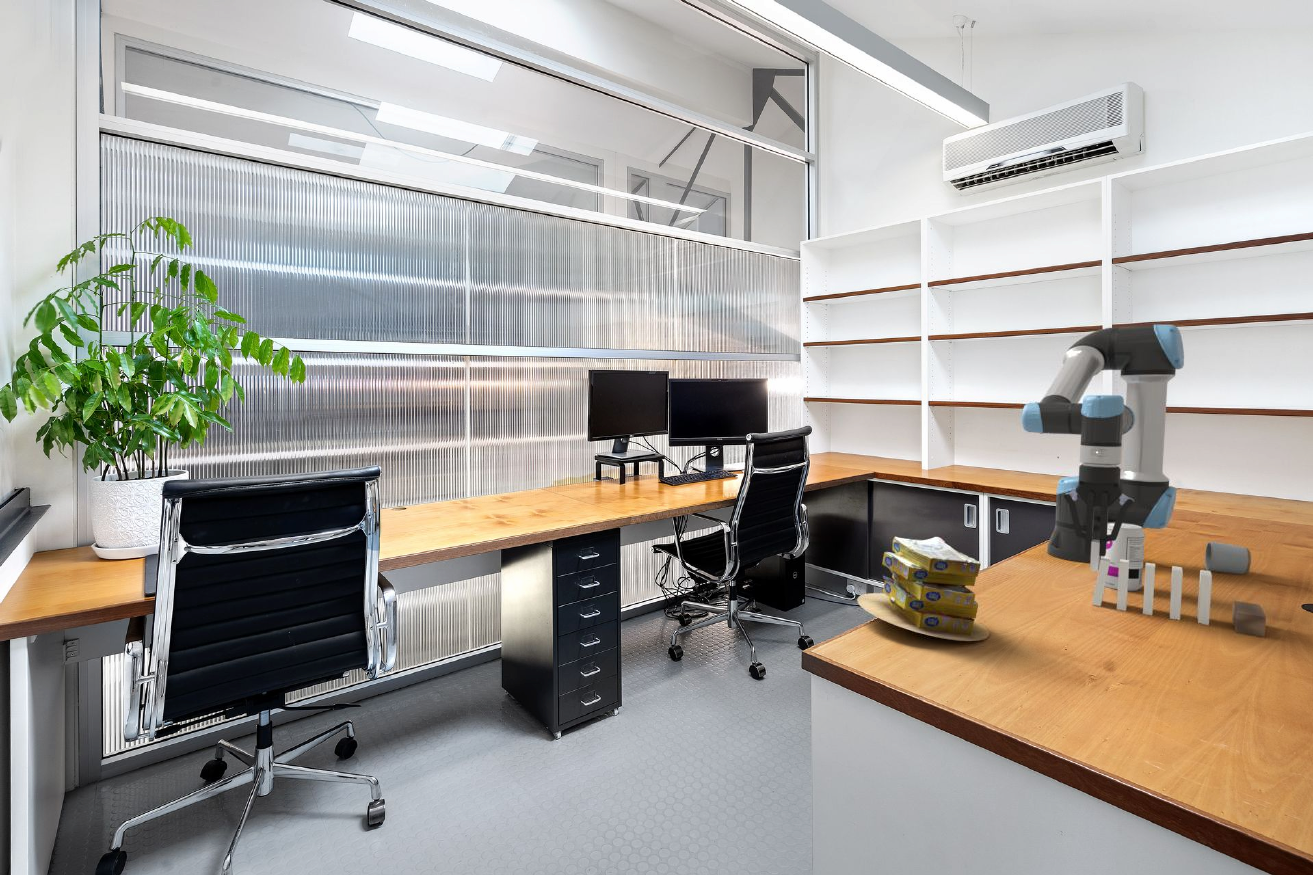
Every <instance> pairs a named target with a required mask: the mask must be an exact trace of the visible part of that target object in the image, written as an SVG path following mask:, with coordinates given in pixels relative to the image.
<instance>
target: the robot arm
mask: <svg viewBox="0 0 1313 875" xmlns="http://www.w3.org/2000/svg"><path fill="white" fill-rule="evenodd" d="M1181 334H1182V333H1181V332H1180V329H1179V328H1178V327H1177V326H1176V325H1174V324H1148V325H1146V324H1145V325H1136V326H1134V325H1132V326H1122V327H1121V326H1120V327H1107V328H1102V329H1099V330H1098V329H1097V330H1096V331H1093V332H1091V333H1089V334H1087V335H1085V336H1084V337H1081V338H1080V339H1079V340H1077V341H1076V342H1075V343H1073V344H1072V345H1071V346H1070V347H1069V348H1068V349H1067V351H1066V353H1065V354H1064V355H1063V359H1062V364H1063V366H1062V367H1061V368H1060V370H1059V372H1058V373H1057V375H1056V377H1055V378H1054V379H1053V381H1052V383H1051V384H1050V386H1049V388H1048V389H1047V391H1046V393H1045V394H1044V396H1043V397H1042V399H1041V400H1040V402H1038V401H1035V402H1029V403H1026V404H1025V405H1024V406H1023V408H1022V412H1021V424H1022V428H1023V430H1024V431H1025V432H1028V433H1035V434H1042V435H1043V434H1053V435H1055V434H1056V435H1057V434H1059V435H1080V447H1079V462H1080V463H1082V464H1080V465H1079V468H1078V475H1074V476H1066V477H1062V478H1060V479H1058V482H1057V486H1056V488H1057V489H1056V492H1055V495H1056V496H1055V497H1056V501H1055V527H1054V529H1053V531H1052V534H1051V536H1050V538H1049V541H1048V543H1047V548H1046V549H1047V550H1046V552H1047V554H1048V555H1050V556H1052V557H1055V558H1059V559H1062V560H1068V561H1069V560H1070V561H1075V562H1080V563H1081V562H1082V563H1090V565H1089V567H1090V568H1089V571H1091V572H1092V571H1093V572H1097V573H1098V570H1099V565H1100V560H1101V556H1103V557H1105V555H1106V545H1107V542H1108V541H1115V540H1116V539H1117V536H1118V533H1119V530H1120V528H1121V525H1122V523H1126V524H1133V525H1138V526H1141V527H1142V530H1143V529H1144V530H1145V529H1149V530H1150V529H1152V530H1153V529H1154V530H1163V529H1165V528H1166V527H1167V526H1168V524H1170V521H1171V518H1172V515H1173V512H1174V508H1175V503H1176V498H1177V488H1176V487H1175V486H1172V485H1170V478H1168V476H1166V475H1165V473H1164V472H1163V469H1164V468H1163V466H1164V449H1165V431H1166V430H1165V429H1166V418H1167V416H1166V414H1167V399H1168V398H1167V397H1168V383H1169V382H1170V381H1171V380H1172V379H1173V378H1175V377H1176V373H1177V372H1176V370H1180V369H1183V368H1184V366H1185V364H1184V363H1185V354H1184V353H1185V352H1184V344H1183V339H1182V338H1183V337H1182V335H1181ZM1102 371H1120V378H1121V379H1122V380H1123V381H1125V383H1126V394H1125V395H1126V397H1125V398H1126V399H1124V397H1123V396H1122V395H1119V394H1117V395H1116V394H1111V395H1110V394H1109V395H1108V394H1107V395H1105V394H1103V395H1102V394H1100V395H1099V394H1096V395H1093V394H1092V395H1090V394H1088V395H1086V396H1084V397H1083V395H1084V393H1085V392H1086V390H1087V389H1088V386H1089V385H1090V383H1091V382H1092V379H1093V377H1094V376H1095V377H1096V376H1097V375H1098V374H1099V373H1100V372H1102ZM1082 397H1083V399H1082ZM1081 399H1082V403H1081V402H1080V401H1081ZM1124 400H1125V401H1124ZM1123 435H1124V436H1123ZM1123 437H1124V438H1123ZM1122 440H1123V442H1122ZM1122 444H1123V446H1122ZM1122 447H1123V448H1122ZM1122 450H1123V454H1122ZM1122 457H1123V458H1122ZM1121 463H1122V468H1120V466H1119V465H1120V464H1121ZM1121 469H1122V470H1121ZM1108 523H1115V524H1114V527H1113V530H1112V532H1111V534H1109V535H1107V528H1108Z"/></svg>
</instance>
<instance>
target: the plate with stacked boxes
mask: <svg viewBox="0 0 1313 875" xmlns="http://www.w3.org/2000/svg"><path fill="white" fill-rule="evenodd" d="M890 549H891V550H892V552H891V551H890V552H889V551H884V553H883V558H882V564H881V565H882V566H883V567H885V568H887V569H889V571H890V573H892V578H890V577H888V576H885V575H882V578H883V579H884V583H883V589H882V593H881V592H879V593H876V592H874V593H865V594H861V595H860V596H858V598H857V599H856V600H857V603H858V605H859V606H860V607H861V608H862V609H863V610H865V611H866V612H867V613H869V614H870V615H872V616H873V617H874V616H875V617H876V618H878V619H880V620H882V621H885V622H887V623H889V624H892V625H894V626H897V627H899V628H903V629H906V630H909V631H912V632H915V633H919V634H922V635H923V634H924V635H927V636H931V637H935V638H940V639H946V640H953V641H960V642H961V641H962V642H963V641H965V642H972V641H973V642H974V641H976V642H977V641H983V640H986V639H988V637H990V631H989V630H988V629H987V628H986V627H985V626H984V625H982V624H981V623H979V621H978V620H976V618H977V613H978V609H979V603H978V602H977V601H976V600H975V598H976V594H975V593H974V591H972V590H971V589H969V588H968V587H975V585H976V579H977V578H978V577H979V572H980V569H981V562H980V561H979V560H976V559H975V558H973V557H969V555H966V554H964V553H963V552H959V551H958V550H956V549H954V548H953V547H951V546H950V545H948V544H947V543H946V541H945V540H943V539H942V538H941V537H939V536H934V537H932V538H928V539H914V538H903V537H898V536H894V538H893V539H892V548H890ZM967 586H968V587H967Z"/></svg>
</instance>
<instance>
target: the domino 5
mask: <svg viewBox="0 0 1313 875" xmlns="http://www.w3.org/2000/svg"><path fill="white" fill-rule="evenodd" d="M1212 577H1213V575H1212V571H1208V570H1205V569H1200V570H1199V583H1198V584H1199V585H1198V586H1199V587H1198V599H1197V600H1198V601H1197V615H1196V616H1197V623H1198V624H1199V623H1202V624H1201V625H1206V626H1209V624H1210V612H1211V611H1210V610H1211V600H1212V599H1211V598H1212V597H1211V596H1212V579H1213V578H1212Z"/></svg>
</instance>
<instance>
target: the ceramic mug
mask: <svg viewBox="0 0 1313 875" xmlns="http://www.w3.org/2000/svg"><path fill="white" fill-rule="evenodd" d="M1251 565H1252V555H1251V551H1250V550H1249V548H1246V547H1245V546H1240V545H1235V544H1228V543H1223V542H1216V541H1208V543H1207V544H1206V547H1205V554H1204V566H1205V569H1206V571H1211V572H1217V573H1226V574H1227V573H1229V574H1234V575H1246V574H1247V573H1249V572H1250V570H1251Z"/></svg>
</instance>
